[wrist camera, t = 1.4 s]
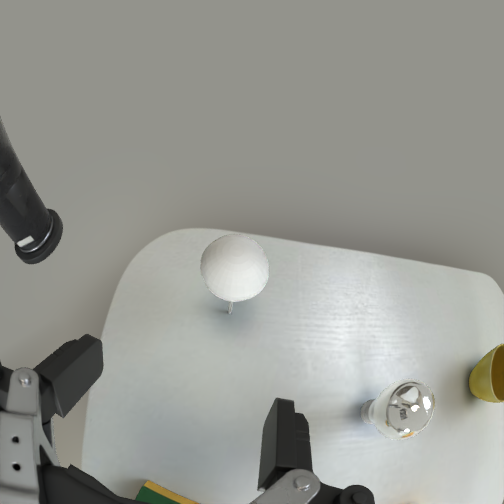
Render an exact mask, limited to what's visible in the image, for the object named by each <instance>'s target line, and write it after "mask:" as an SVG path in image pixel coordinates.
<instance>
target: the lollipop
mask: <svg viewBox="0 0 504 504" xmlns="http://www.w3.org/2000/svg"><path fill="white" fill-rule="evenodd" d="M201 275H202V278H203V280H204V283H205V285H206V286H207V288H208V289H209V290H210V291H211V292H212V293H213V294H214V295H216V296H217V297H218V298H221V299H223V300H226V301H229V307H228V313H229V314H231V313H232V305H233V302H239V301H244V300H247V299H250V298H252V297H254V296H256V295H257V294H258V293H260V292H261V291H262V290H263V288H264V287H265V285H266V283H267V281H268V276H269V263H268V259H267V256H266V254H265V252H264V250H263V249H262V248H261V246H260V245H259V244H258V243H257V242H256V241H254V240H253V239H251V238H249V237H247V236H244V235H238V234H231V235H226V236H223V237H221V238H219V239H217V240H215V241H213V242H212V243H211V244H210V245H209V246H208V247H207V248H206V249H205V251H204V253H203V255H202V258H201Z"/></svg>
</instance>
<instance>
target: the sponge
mask: <svg viewBox="0 0 504 504" xmlns="http://www.w3.org/2000/svg"><path fill="white" fill-rule="evenodd" d="M135 500H137V501H143V502H148V503H151V504H199V503H196V502H194V501H191V500H189V499H187V498H184V497H182V496H180V495H178V494H175V493H173V492H171V491H169V490H167V489H165V488H163V487H161V486H159V485H157V484H155V483H153V482H151V481H149V480H148V481H147V482H146V483H145V484H144V485H143V486H142V487H141V489H140V491H139V493H138V495H137V497H136V499H135Z"/></svg>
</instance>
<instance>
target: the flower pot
mask: <svg viewBox="0 0 504 504" xmlns="http://www.w3.org/2000/svg"><path fill="white" fill-rule="evenodd" d="M469 388H470V391H471V393H472V394H473V395H475V396H476V397H478V398H479V399H482V400H484V401H488V402H495V403H500V402H504V344H500V345H498V346H497V347H495V348H494V349H493V350H491V351H490V352H489V353H488V354H486V355H485V356H484V357H483V358H482V359H481V360H480V361H479V362H478V364H477V365H476V366H475V367H474V369H473V370H472V372H471V374H470V377H469Z"/></svg>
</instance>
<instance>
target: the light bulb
mask: <svg viewBox="0 0 504 504" xmlns="http://www.w3.org/2000/svg"><path fill="white" fill-rule="evenodd" d="M434 410H435V398H434V395H433V393H432V391H431V389H430V388H429V387H428V386H427V385H426V384H425V383H423V382H421V381H419V380H415V379H402V380H399V381H396V382H394V383H392V384H390V385H389V386H388V387H387V388H385V389H384V390H383V391H382V392H381V393H380V395H379V396H378V398H377V399H373V400H369V401H367V402H365V403H364V404H363V406H362V408H361V412H360V414H361V418H362V420H363V421H364V422H366V423H368V424H374V425H375V427H376V429H377V430H378V431H379V432H380V433H381V434H382V435H383V436H385V437H386V438H389V439H393V440H405V439H409V438H411V437H413V436H416V435H417V434H419V433H420V432H421V431H423V430H424V429H425V428H426V426H427V425H428V424H429V422H430V421H431V419H432V417H433V414H434Z"/></svg>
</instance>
